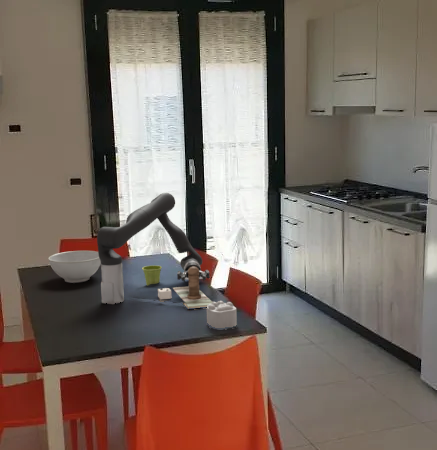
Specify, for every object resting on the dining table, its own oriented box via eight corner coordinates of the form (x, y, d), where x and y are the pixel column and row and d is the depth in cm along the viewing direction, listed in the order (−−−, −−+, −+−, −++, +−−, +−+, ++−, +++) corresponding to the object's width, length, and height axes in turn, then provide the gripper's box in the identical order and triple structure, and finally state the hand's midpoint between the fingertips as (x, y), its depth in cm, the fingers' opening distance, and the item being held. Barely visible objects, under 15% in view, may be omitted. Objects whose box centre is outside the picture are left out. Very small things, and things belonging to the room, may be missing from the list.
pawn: (197, 300, 280) (196, 268, 278) (185, 298, 283) (183, 267, 280) (203, 296, 285) (202, 265, 283) (191, 295, 288) (190, 264, 286)
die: (171, 301, 284) (171, 289, 283) (160, 303, 283) (159, 290, 282) (169, 298, 289) (168, 286, 288) (158, 299, 288) (157, 288, 287)
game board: (215, 307, 274) (215, 303, 274) (187, 310, 271) (187, 306, 271) (196, 288, 305) (196, 285, 304) (171, 290, 301) (171, 287, 301)
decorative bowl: (112, 274, 337) (111, 251, 335) (90, 287, 311) (88, 263, 309) (65, 272, 343) (64, 249, 341) (39, 285, 318) (38, 261, 316)
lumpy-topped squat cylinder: (215, 331, 244) (214, 309, 242) (201, 321, 256) (201, 300, 254) (240, 327, 248) (239, 305, 247) (225, 318, 260) (225, 297, 258)
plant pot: (141, 287, 308) (140, 270, 307) (144, 282, 318) (143, 265, 316) (161, 287, 308) (160, 269, 306) (163, 282, 317) (162, 265, 316)
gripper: (176, 262, 295) (177, 271, 279) (207, 261, 296) (210, 269, 280) (177, 278, 297) (177, 288, 281) (208, 277, 298) (210, 286, 282)
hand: (193, 278), depth 280 cm, fingers open, 8 cm apart
